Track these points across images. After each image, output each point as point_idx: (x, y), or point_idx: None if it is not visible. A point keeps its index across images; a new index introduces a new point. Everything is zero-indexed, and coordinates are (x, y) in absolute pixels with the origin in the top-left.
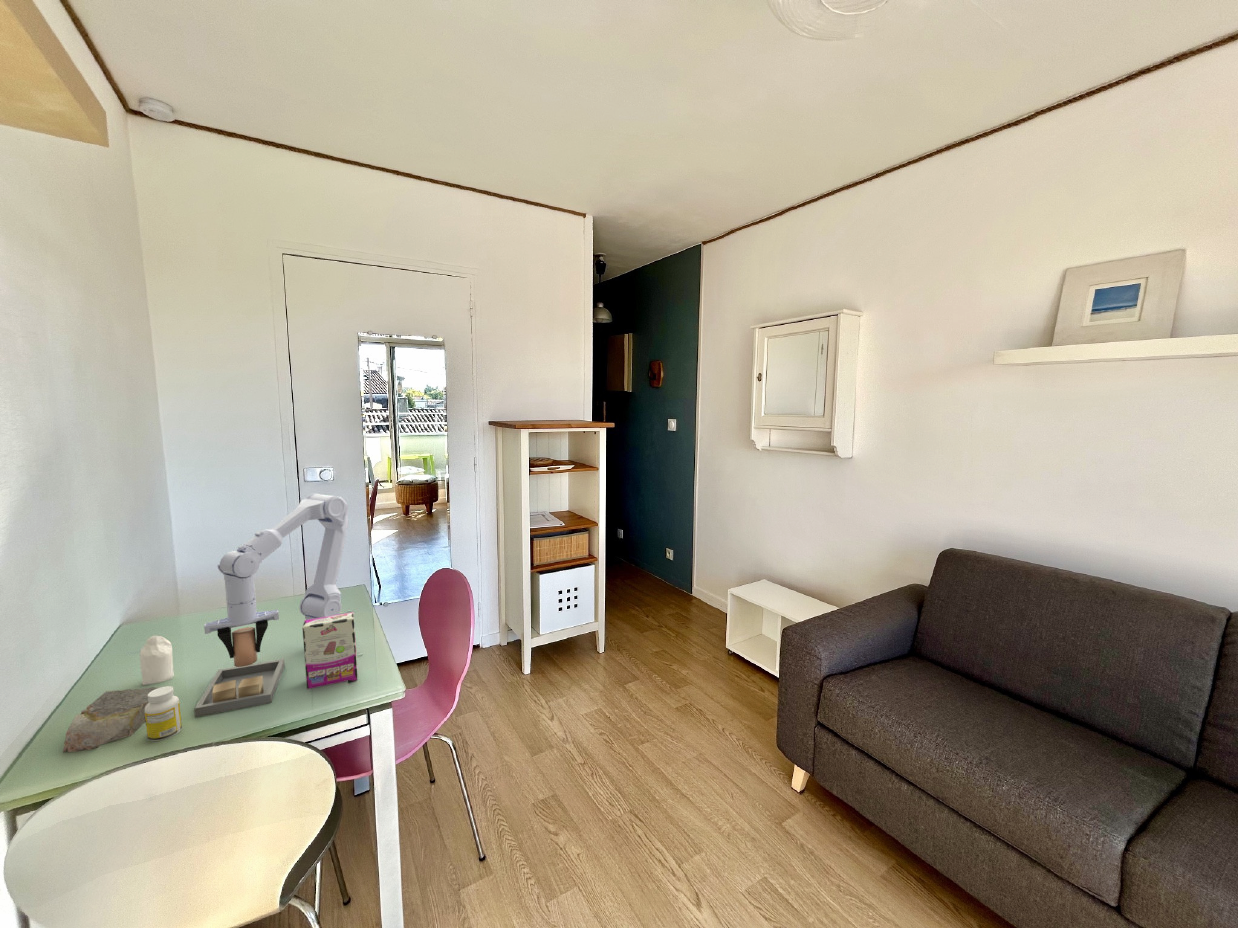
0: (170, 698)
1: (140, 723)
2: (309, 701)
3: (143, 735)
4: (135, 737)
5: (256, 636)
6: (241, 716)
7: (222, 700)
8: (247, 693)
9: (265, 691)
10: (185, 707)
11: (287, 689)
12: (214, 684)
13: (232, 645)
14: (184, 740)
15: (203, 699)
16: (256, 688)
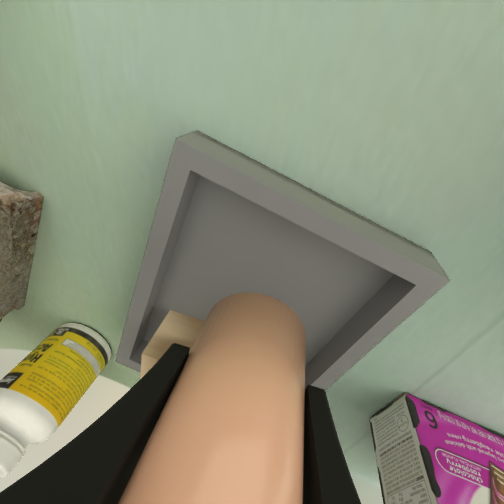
0: (25, 447)
1: (16, 289)
2: (343, 445)
3: (45, 312)
4: (31, 307)
5: (311, 501)
6: None
7: None
8: None
9: None
10: (105, 261)
11: (340, 379)
12: (159, 268)
13: (160, 396)
14: (121, 381)
15: (131, 338)
16: None
